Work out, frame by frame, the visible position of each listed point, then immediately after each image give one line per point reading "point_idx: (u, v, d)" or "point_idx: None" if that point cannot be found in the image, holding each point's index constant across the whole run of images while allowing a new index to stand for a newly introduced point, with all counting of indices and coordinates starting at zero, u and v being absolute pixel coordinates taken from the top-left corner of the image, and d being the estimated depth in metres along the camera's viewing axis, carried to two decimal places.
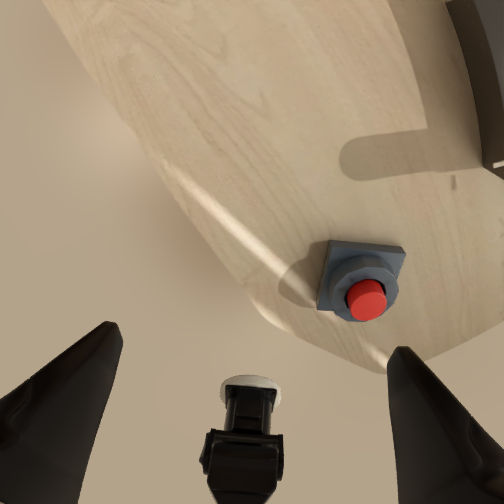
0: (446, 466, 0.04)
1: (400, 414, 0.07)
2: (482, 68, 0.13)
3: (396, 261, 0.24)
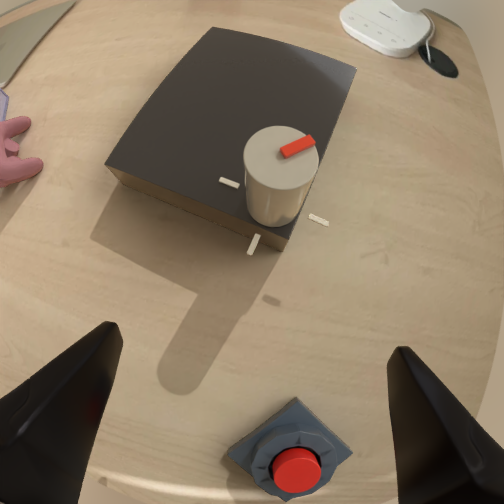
0: (446, 466, 0.04)
1: (400, 414, 0.07)
2: (171, 197, 0.21)
3: (298, 414, 0.19)
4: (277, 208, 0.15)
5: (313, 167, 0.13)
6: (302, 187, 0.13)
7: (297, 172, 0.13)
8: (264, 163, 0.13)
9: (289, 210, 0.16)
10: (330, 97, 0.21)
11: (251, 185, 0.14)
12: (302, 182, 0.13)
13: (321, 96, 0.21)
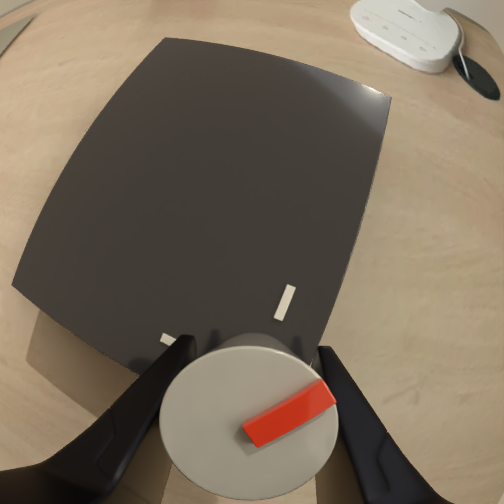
0: (347, 485, 0.04)
1: None
2: None
3: None
4: None
5: (323, 453, 0.05)
6: None
7: (284, 468, 0.05)
8: (208, 451, 0.05)
9: None
10: (355, 156, 0.13)
11: None
12: (292, 486, 0.05)
13: (338, 155, 0.13)
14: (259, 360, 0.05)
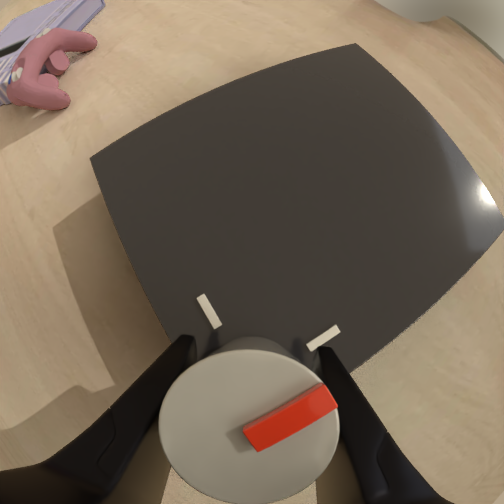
0: (347, 485, 0.04)
1: None
2: None
3: None
4: None
5: (323, 457, 0.05)
6: None
7: (284, 473, 0.05)
8: (207, 455, 0.05)
9: None
10: (452, 255, 0.12)
11: None
12: (293, 491, 0.05)
13: (441, 246, 0.12)
14: (260, 364, 0.05)
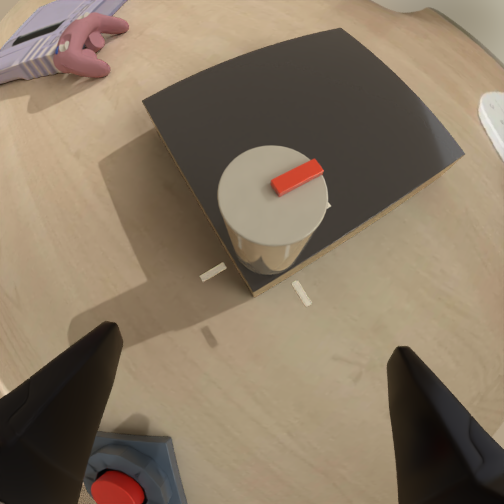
0: (446, 466, 0.04)
1: (400, 414, 0.07)
2: (179, 170, 0.18)
3: (158, 453, 0.15)
4: (270, 261, 0.11)
5: (320, 209, 0.09)
6: (303, 239, 0.09)
7: (296, 217, 0.09)
8: (248, 204, 0.09)
9: (286, 261, 0.12)
10: (415, 166, 0.16)
11: (231, 234, 0.10)
12: (303, 233, 0.09)
13: (405, 159, 0.16)
14: (279, 151, 0.10)
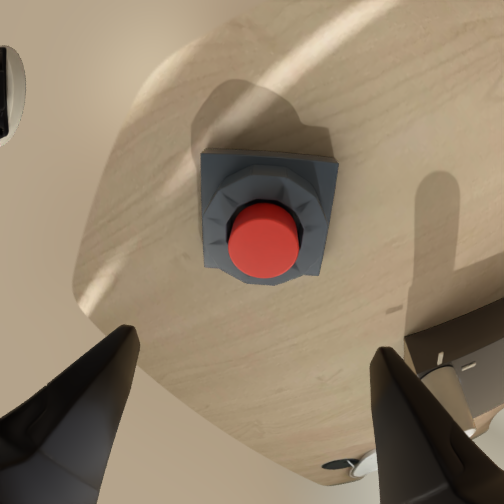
0: (426, 472, 0.04)
1: (381, 416, 0.07)
2: (500, 320, 0.18)
3: None
4: None
5: None
6: None
7: None
8: None
9: None
10: None
11: None
12: None
13: None
14: None
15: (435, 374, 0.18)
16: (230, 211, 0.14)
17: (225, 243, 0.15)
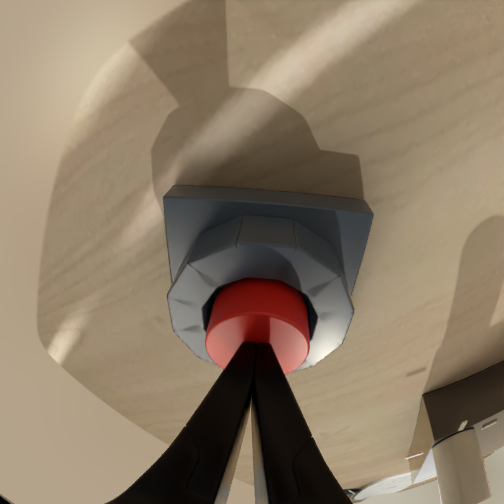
0: (263, 488, 0.05)
1: (252, 417, 0.07)
2: None
3: None
4: (445, 486, 0.11)
5: None
6: None
7: None
8: None
9: (439, 480, 0.12)
10: (427, 472, 0.19)
11: (469, 493, 0.09)
12: None
13: (434, 469, 0.19)
14: None
15: (454, 440, 0.13)
16: (207, 292, 0.09)
17: (202, 331, 0.10)
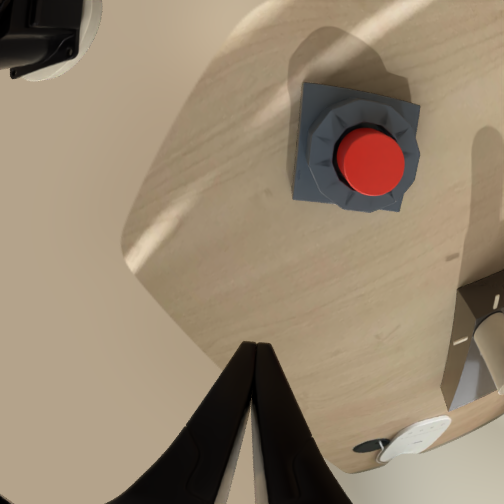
0: (263, 488, 0.05)
1: (252, 417, 0.07)
2: None
3: None
4: (494, 358, 0.15)
5: (501, 393, 0.14)
6: (498, 387, 0.14)
7: None
8: None
9: (487, 357, 0.16)
10: (464, 389, 0.24)
11: None
12: (500, 389, 0.14)
13: (469, 385, 0.23)
14: None
15: (491, 319, 0.17)
16: (339, 131, 0.13)
17: (330, 164, 0.14)
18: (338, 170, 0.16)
